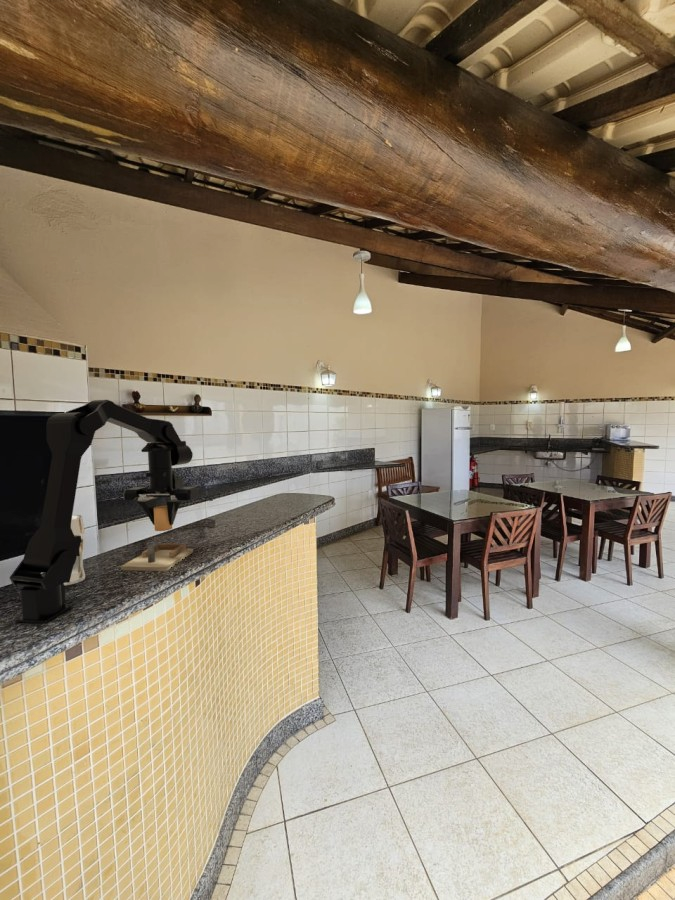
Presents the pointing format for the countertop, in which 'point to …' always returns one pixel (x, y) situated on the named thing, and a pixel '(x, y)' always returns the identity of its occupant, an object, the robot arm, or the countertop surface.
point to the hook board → (158, 557)
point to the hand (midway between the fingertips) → (163, 524)
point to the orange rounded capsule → (161, 519)
